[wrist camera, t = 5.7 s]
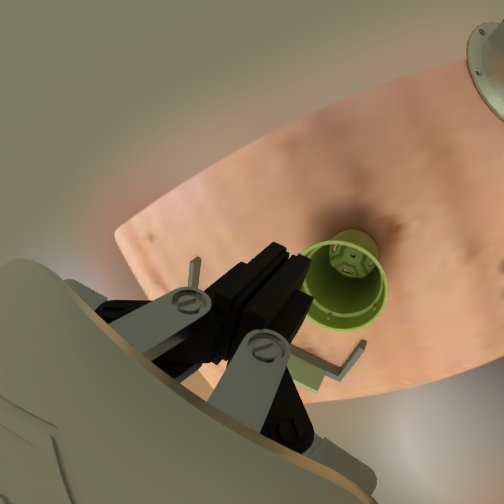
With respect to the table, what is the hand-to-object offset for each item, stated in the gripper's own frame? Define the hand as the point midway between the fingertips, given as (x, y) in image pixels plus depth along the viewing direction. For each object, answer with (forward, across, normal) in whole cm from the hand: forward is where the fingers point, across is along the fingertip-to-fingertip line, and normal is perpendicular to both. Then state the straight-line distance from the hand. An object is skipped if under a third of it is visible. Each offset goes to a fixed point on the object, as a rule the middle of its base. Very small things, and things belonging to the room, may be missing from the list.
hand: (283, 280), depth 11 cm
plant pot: (+21, -2, +7) cm, 22 cm away
